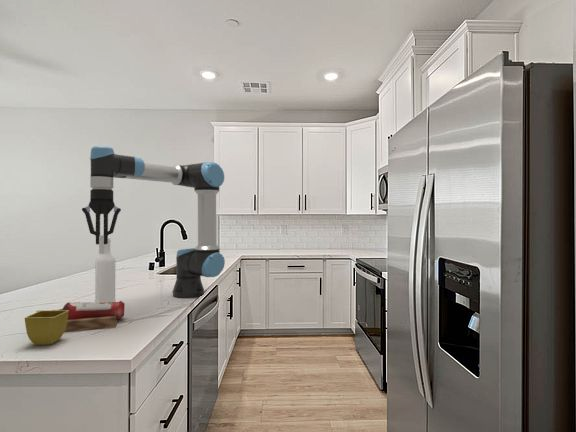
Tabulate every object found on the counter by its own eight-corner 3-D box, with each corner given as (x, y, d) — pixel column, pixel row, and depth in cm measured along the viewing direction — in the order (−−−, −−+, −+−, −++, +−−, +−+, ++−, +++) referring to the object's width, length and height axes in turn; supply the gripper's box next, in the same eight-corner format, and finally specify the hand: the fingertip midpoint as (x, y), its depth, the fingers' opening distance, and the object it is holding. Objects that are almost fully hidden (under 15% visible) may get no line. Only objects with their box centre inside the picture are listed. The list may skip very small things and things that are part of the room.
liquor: (124, 315, 142) (39, 320, 131) (124, 297, 141) (39, 301, 130) (123, 322, 135) (33, 328, 124) (124, 303, 134) (33, 308, 124)
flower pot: (40, 338, 117) (41, 310, 117) (69, 337, 118) (69, 309, 118) (23, 347, 108) (23, 317, 108) (54, 347, 109) (54, 317, 109)
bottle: (106, 309, 152) (107, 237, 152) (90, 308, 153) (90, 237, 153) (119, 305, 160) (119, 236, 159) (103, 304, 161) (104, 236, 161)
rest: (118, 316, 142) (118, 307, 142) (115, 327, 128) (115, 317, 128) (43, 322, 133) (43, 313, 133) (31, 335, 119) (31, 324, 119)
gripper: (122, 190, 139) (121, 251, 139) (83, 189, 135) (83, 252, 135) (120, 189, 132) (120, 253, 132) (80, 187, 128) (79, 255, 128)
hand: (101, 253), depth 134 cm, fingers closed
